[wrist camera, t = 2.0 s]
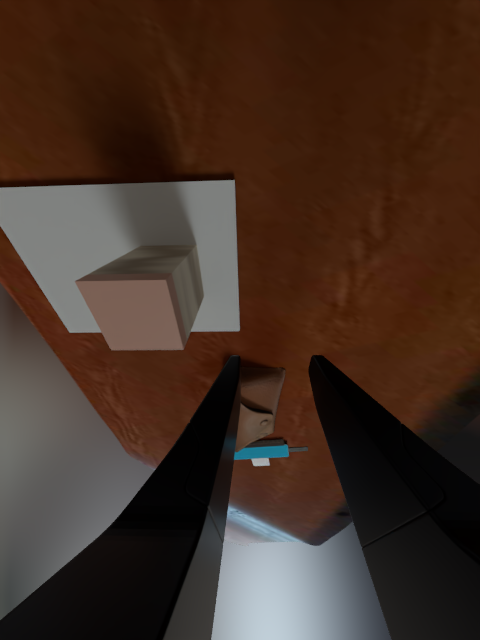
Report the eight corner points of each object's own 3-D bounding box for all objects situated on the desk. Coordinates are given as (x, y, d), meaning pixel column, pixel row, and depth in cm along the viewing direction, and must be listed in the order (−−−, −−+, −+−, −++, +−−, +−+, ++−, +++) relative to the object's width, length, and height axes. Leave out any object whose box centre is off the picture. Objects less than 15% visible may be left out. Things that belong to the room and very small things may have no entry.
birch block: (196, 244, 17) (166, 279, 10) (204, 296, 20) (183, 349, 13) (140, 246, 17) (74, 281, 10) (155, 296, 20) (111, 350, 13)
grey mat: (234, 180, 15) (234, 180, 14) (239, 328, 22) (239, 331, 22) (-18, 188, 15) (-24, 188, 15) (72, 330, 23) (69, 332, 23)
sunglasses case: (276, 434, 36) (259, 471, 31) (243, 415, 39) (223, 446, 34) (287, 365, 26) (265, 405, 21) (242, 347, 29) (214, 378, 24)
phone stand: (218, 464, 45) (218, 472, 44) (204, 439, 39) (202, 448, 37) (306, 459, 43) (308, 468, 41) (306, 432, 36) (309, 441, 35)
